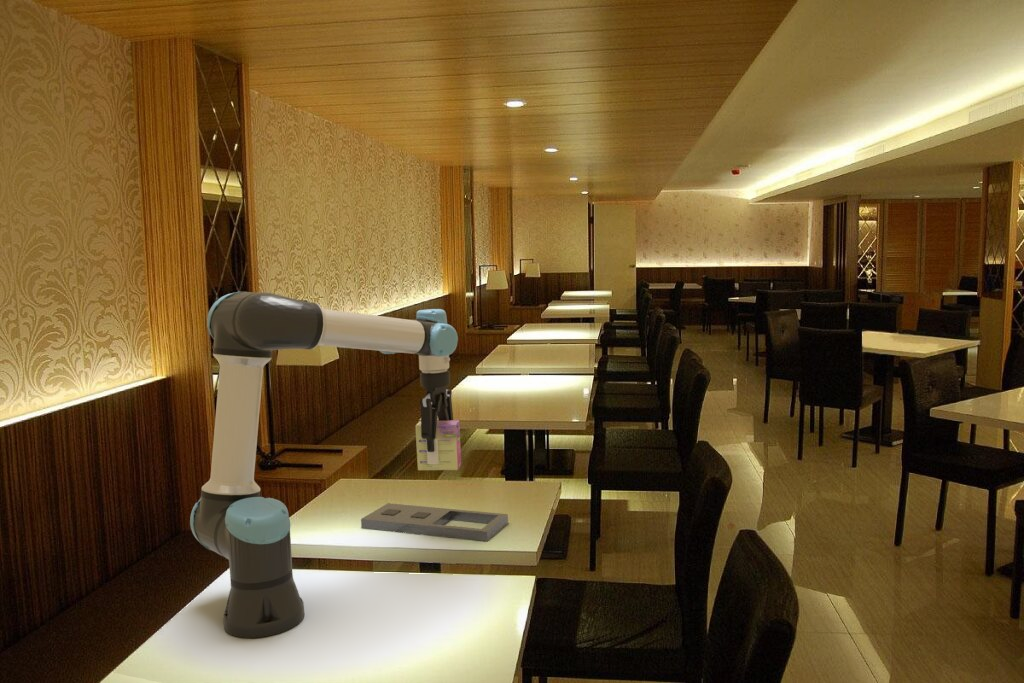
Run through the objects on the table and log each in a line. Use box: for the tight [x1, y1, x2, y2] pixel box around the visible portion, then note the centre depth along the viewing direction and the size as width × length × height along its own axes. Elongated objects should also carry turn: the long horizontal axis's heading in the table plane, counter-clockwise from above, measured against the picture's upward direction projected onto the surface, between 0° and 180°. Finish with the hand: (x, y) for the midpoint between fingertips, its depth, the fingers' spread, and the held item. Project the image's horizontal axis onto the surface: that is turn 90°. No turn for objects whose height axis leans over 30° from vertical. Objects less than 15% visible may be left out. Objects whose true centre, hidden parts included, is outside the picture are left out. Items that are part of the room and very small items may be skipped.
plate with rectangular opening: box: [360, 502, 509, 542], centre depth 210 cm, size 14×36×3 cm, turn 69°
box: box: [415, 419, 462, 471], centre depth 203 cm, size 10×6×12 cm, turn 85°
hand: (439, 459), depth 203 cm, fingers closed on box, 7 cm apart
